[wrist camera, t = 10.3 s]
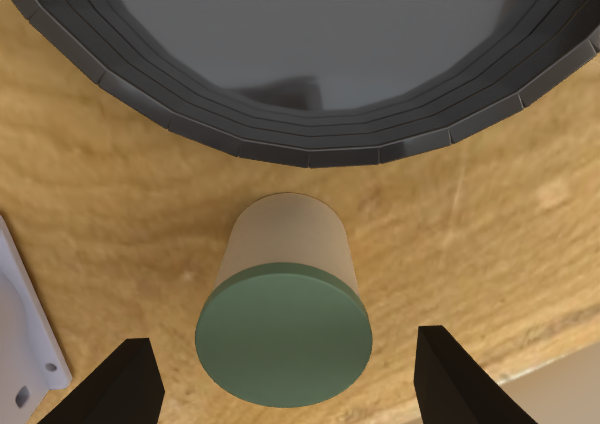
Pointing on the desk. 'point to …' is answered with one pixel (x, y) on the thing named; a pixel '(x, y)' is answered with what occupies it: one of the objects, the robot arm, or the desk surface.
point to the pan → (323, 68)
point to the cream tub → (285, 307)
